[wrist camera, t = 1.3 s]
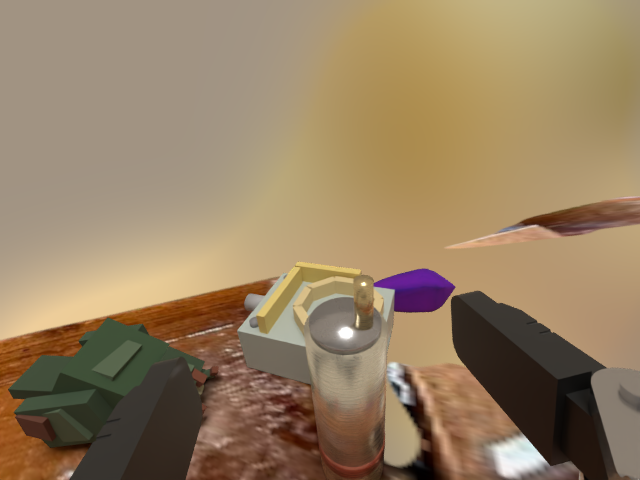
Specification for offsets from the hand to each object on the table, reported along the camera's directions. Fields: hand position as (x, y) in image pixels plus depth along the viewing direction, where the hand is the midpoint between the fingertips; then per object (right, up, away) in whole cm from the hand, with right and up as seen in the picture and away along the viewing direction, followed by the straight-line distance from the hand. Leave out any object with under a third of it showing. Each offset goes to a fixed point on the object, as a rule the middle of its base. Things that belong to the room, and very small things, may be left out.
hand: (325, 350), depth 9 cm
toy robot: (-21, -16, +25) cm, 37 cm away
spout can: (+3, -17, +19) cm, 25 cm away
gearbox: (-2, -10, +32) cm, 33 cm away
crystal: (+12, -7, +37) cm, 40 cm away
